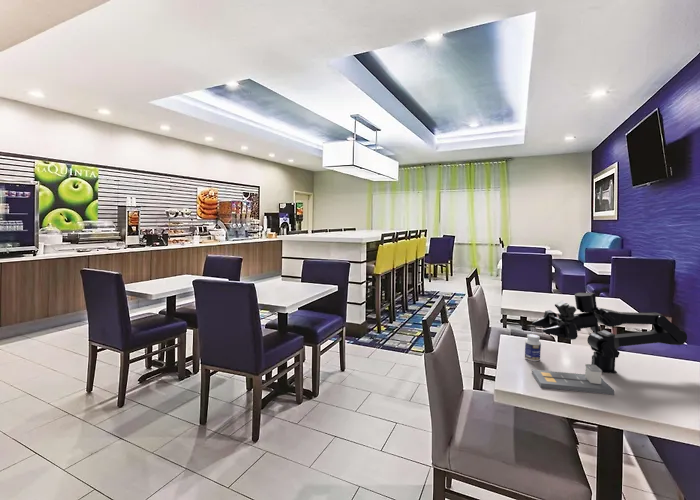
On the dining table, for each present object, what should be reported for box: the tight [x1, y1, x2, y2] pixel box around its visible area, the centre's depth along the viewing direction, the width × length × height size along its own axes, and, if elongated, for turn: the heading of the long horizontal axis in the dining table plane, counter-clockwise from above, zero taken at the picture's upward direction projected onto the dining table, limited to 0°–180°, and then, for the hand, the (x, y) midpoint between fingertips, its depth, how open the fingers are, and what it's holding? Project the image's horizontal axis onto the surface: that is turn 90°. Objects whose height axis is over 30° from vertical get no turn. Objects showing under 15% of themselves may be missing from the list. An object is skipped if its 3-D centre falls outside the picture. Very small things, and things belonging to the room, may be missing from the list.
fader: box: [584, 363, 603, 384], centre depth 124 cm, size 3×5×5 cm, turn 166°
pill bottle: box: [524, 333, 542, 362], centre depth 149 cm, size 6×6×10 cm
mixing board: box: [531, 369, 615, 396], centre depth 126 cm, size 22×12×2 cm, turn 76°
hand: (537, 327), depth 140 cm, fingers open, 9 cm apart
